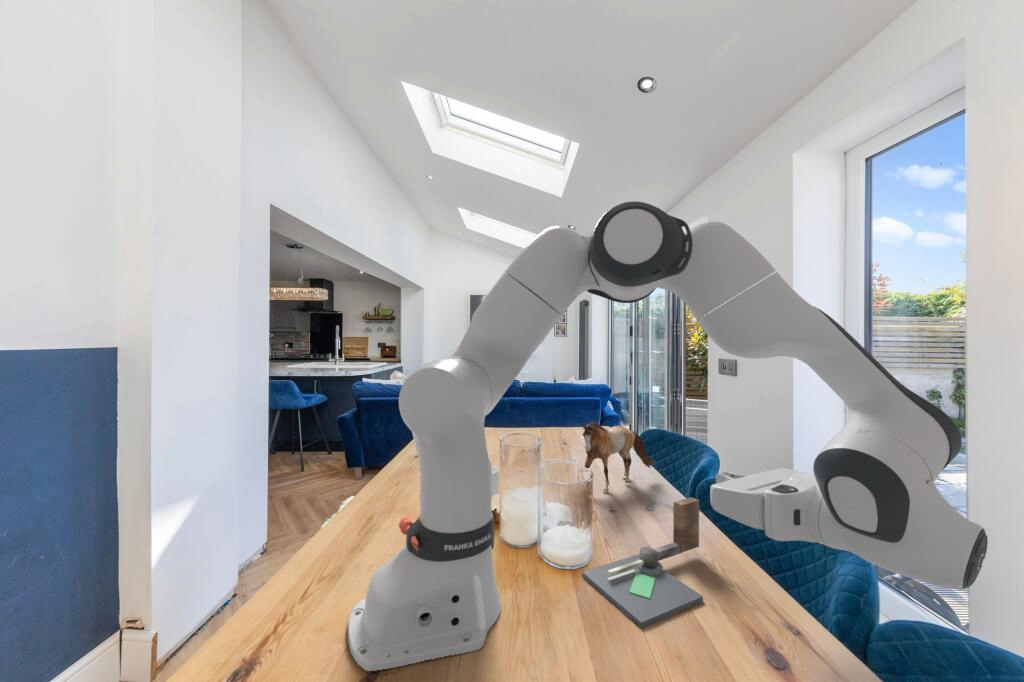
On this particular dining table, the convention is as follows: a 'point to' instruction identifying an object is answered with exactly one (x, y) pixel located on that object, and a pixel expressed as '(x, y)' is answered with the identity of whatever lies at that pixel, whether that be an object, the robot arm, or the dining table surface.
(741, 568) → the dining table surface
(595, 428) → the horse figurine
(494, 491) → the white cup
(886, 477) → the robot arm
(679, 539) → the lever with brown handle
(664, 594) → the white-striped grey panel
